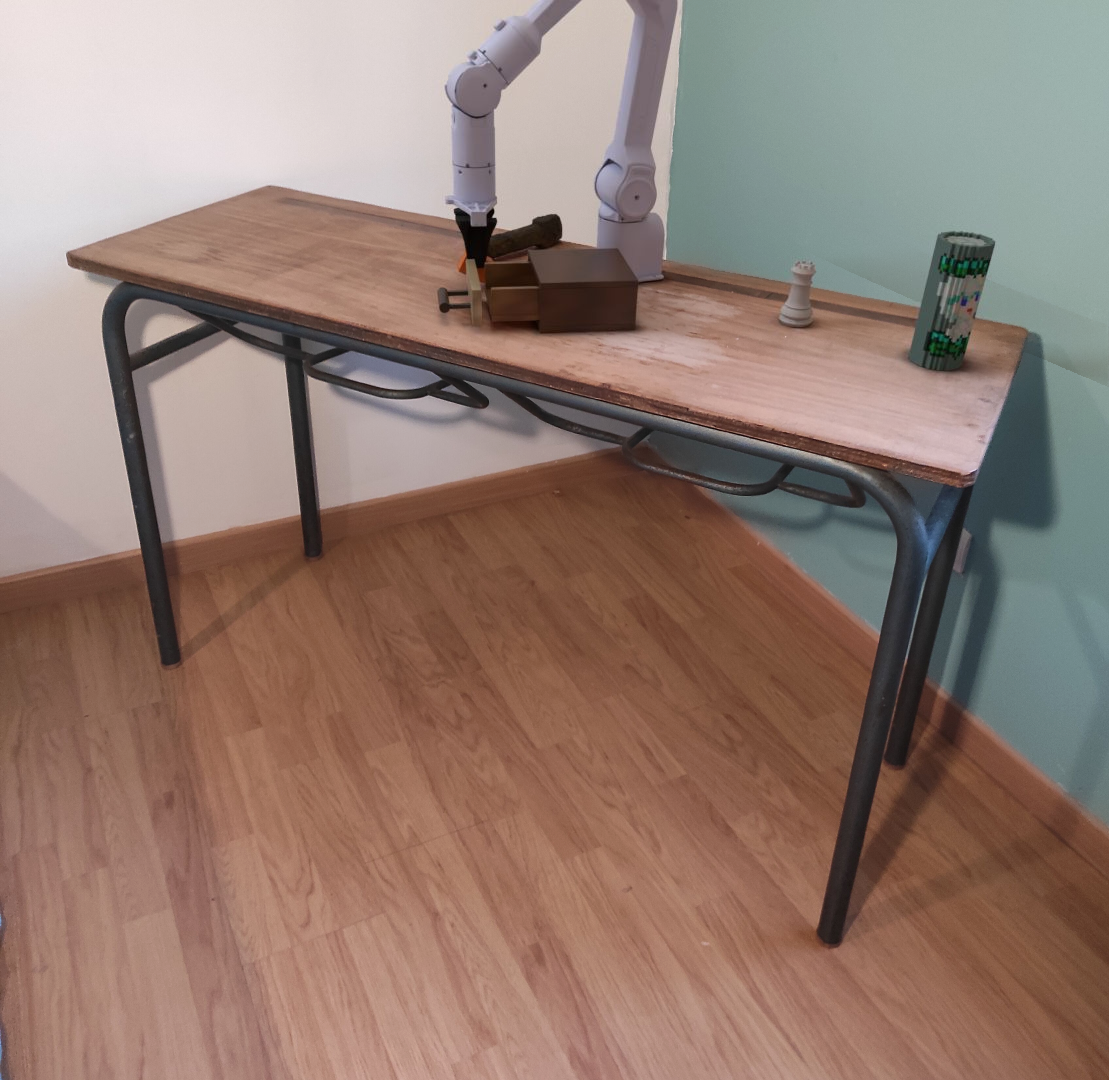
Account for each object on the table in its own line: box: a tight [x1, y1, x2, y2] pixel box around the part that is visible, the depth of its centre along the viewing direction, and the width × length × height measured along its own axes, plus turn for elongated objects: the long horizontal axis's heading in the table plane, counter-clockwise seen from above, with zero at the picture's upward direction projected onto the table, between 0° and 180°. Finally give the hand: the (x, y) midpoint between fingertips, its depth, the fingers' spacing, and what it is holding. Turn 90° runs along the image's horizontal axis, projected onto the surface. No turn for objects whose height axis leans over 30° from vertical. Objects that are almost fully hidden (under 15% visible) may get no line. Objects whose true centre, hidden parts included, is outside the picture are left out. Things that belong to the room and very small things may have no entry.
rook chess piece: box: [778, 259, 817, 328], centre depth 127 cm, size 4×4×8 cm
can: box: [907, 230, 996, 372], centre depth 115 cm, size 6×6×15 cm
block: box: [457, 248, 494, 285], centre depth 136 cm, size 6×2×3 cm, turn 99°
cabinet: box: [527, 248, 640, 334], centre depth 129 cm, size 13×14×7 cm
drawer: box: [436, 259, 540, 327], centre depth 127 cm, size 16×12×5 cm
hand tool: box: [487, 213, 563, 262], centre depth 151 cm, size 19×4×5 cm, turn 134°
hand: (476, 264), depth 136 cm, fingers closed on block, 2 cm apart
